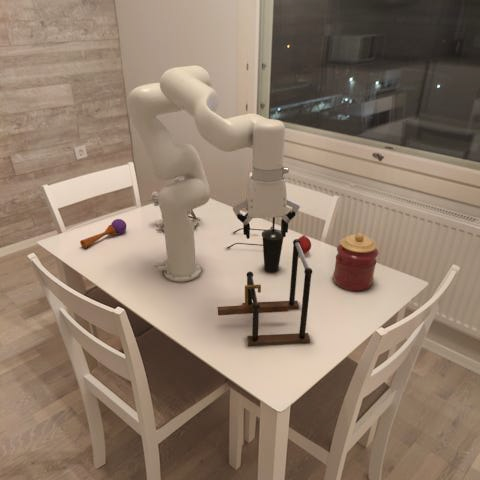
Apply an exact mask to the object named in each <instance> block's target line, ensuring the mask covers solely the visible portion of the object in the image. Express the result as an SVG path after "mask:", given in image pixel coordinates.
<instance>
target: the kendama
mask: <svg viewBox="0 0 480 480" xmlns="http://www.w3.org/2000/svg"><path fill="white" fill-rule="evenodd" d="M126 231H127V223H126V222H125V220H123V219H121V218H117V219H114V220H113V221H112V222H111V223H110V224H109V225H108V226H107V228H106V229H105V230H104V231H103V232H100V233H98V234H95V235H92V236H90V237H87V238H84V239H82V240H80V241H79V243H80V245H81V247H82V248H83V249H87V248H88V247H90V246H91V245H93V244H94V243H96V242H98V241H99V240H100V239H101V238H103V237H105V236H112V235H121V234H122V235H123V234H124V233H125V232H126Z"/></svg>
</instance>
